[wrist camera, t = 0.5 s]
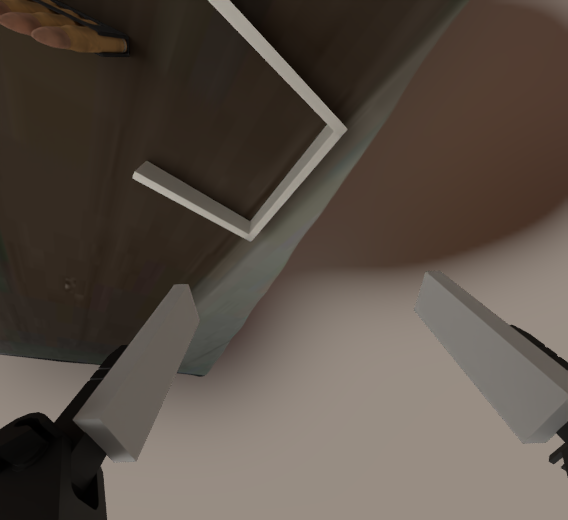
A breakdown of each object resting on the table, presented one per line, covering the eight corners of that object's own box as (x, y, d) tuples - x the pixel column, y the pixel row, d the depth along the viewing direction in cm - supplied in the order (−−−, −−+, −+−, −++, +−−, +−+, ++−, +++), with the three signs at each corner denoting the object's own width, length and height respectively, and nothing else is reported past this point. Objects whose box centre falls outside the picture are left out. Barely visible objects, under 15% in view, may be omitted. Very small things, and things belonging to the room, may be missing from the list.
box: (209, -20, 21) (200, -32, 18) (340, 121, 30) (347, 129, 27) (144, 167, 32) (132, 178, 30) (252, 228, 41) (250, 241, 38)
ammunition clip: (128, 35, 23) (46, 25, 14) (130, 57, 24) (53, 60, 16) (-4, -30, 20) (-212, -93, 11) (5, -1, 21) (-178, -38, 12)
